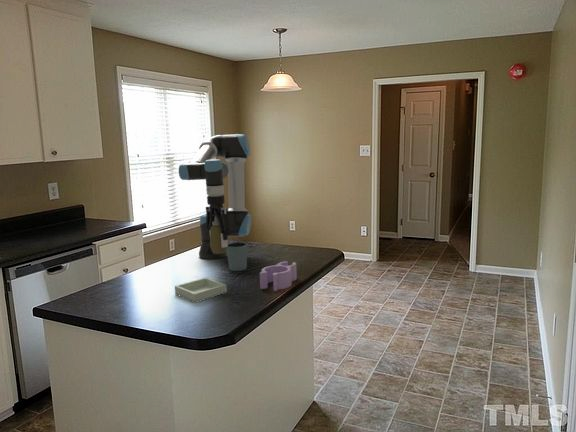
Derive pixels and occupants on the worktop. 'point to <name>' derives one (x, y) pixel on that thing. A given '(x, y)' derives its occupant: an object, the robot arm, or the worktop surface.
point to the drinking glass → (237, 256)
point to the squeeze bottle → (216, 238)
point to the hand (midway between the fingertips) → (219, 245)
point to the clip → (278, 275)
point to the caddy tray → (200, 289)
